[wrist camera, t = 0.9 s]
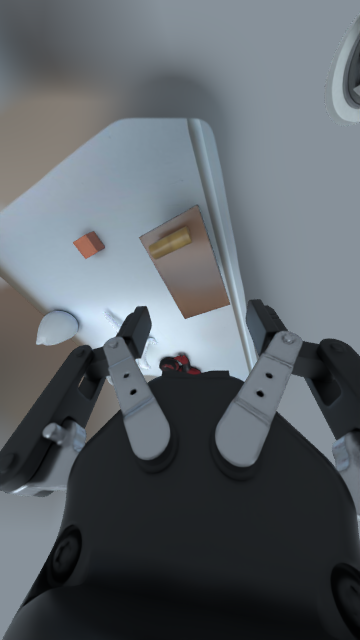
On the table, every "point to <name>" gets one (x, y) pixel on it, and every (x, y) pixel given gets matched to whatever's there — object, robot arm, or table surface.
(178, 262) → the lid
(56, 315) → the white rounded teardrop
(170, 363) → the toy motorcycle
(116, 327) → the dinosaur
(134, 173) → the table surface
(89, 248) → the block
